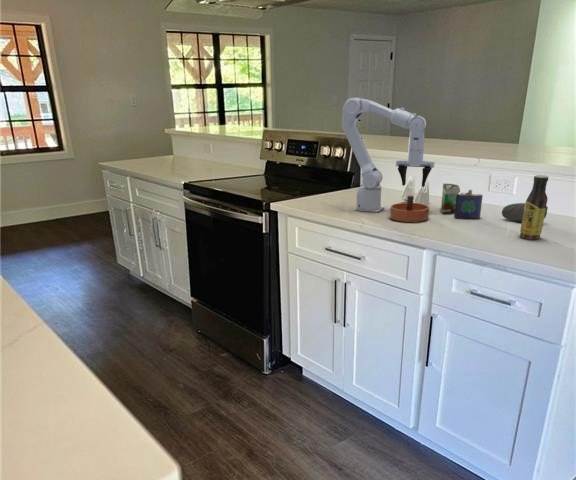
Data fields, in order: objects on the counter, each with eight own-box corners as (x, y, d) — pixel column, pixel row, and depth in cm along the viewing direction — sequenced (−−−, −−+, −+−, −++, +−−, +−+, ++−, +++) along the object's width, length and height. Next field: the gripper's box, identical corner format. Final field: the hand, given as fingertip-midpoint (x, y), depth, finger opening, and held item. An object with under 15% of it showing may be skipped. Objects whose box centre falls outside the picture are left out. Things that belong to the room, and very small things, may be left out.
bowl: (385, 221, 190) (385, 209, 188) (396, 212, 201) (396, 201, 200) (423, 224, 184) (424, 212, 182) (431, 215, 195) (432, 204, 193)
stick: (405, 217, 192) (406, 196, 189) (407, 216, 194) (408, 195, 191) (411, 218, 191) (412, 196, 188) (412, 216, 193) (414, 195, 190)
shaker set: (399, 202, 220) (401, 176, 215) (404, 200, 223) (406, 174, 218) (424, 205, 212) (427, 178, 208) (429, 203, 215) (431, 177, 211)
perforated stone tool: (498, 220, 186) (501, 201, 183) (503, 217, 189) (505, 199, 187) (541, 226, 177) (545, 206, 174) (546, 223, 180) (549, 203, 178)
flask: (479, 217, 190) (483, 189, 186) (480, 219, 188) (483, 190, 184) (454, 216, 193) (457, 188, 189) (454, 218, 190) (457, 190, 186)
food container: (459, 215, 195) (462, 189, 191) (443, 214, 196) (445, 188, 192) (456, 208, 206) (459, 183, 202) (440, 207, 207) (443, 183, 203)
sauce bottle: (515, 235, 167) (525, 174, 159) (533, 234, 167) (544, 173, 160) (525, 241, 161) (536, 177, 153) (544, 240, 161) (556, 177, 154)
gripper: (437, 149, 193) (434, 185, 198) (400, 148, 199) (398, 182, 205) (433, 151, 187) (430, 188, 192) (395, 150, 193) (393, 185, 199)
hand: (413, 185), depth 198 cm, fingers open, 7 cm apart
